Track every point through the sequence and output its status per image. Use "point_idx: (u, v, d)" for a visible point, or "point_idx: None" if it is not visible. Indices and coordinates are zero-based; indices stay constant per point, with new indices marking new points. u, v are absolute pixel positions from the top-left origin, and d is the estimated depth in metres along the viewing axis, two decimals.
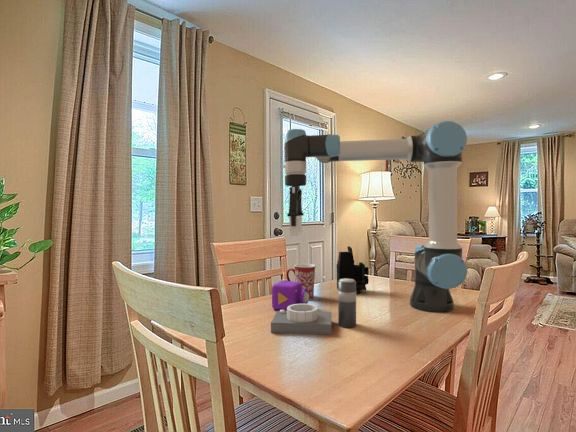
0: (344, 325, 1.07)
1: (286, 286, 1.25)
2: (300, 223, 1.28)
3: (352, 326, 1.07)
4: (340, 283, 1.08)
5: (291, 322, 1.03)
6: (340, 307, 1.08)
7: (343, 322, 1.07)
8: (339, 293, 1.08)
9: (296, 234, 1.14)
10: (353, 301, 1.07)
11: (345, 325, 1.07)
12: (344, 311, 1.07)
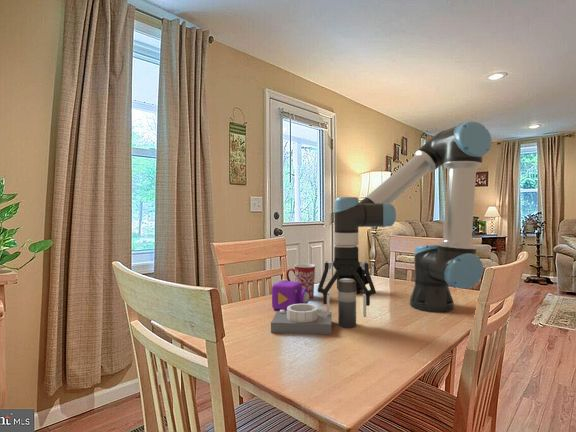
0: (344, 325, 1.07)
1: (286, 286, 1.25)
2: (363, 304, 1.08)
3: (352, 326, 1.07)
4: (340, 283, 1.08)
5: (291, 322, 1.03)
6: (340, 307, 1.08)
7: (343, 322, 1.07)
8: (339, 293, 1.08)
9: None
10: (353, 301, 1.07)
11: (345, 325, 1.07)
12: (344, 311, 1.07)
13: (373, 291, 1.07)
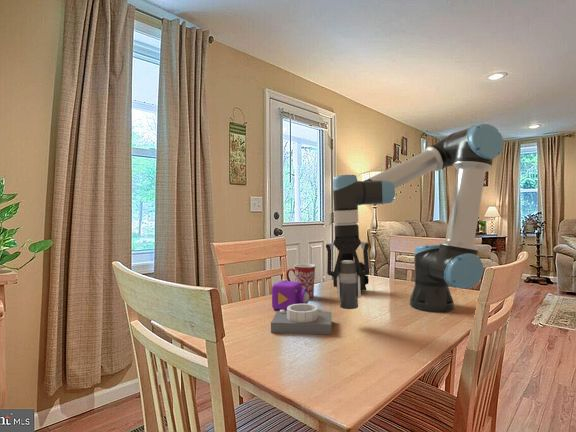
0: (346, 306, 1.07)
1: (286, 286, 1.25)
2: None
3: (354, 307, 1.07)
4: (341, 264, 1.07)
5: (291, 322, 1.03)
6: (341, 288, 1.08)
7: (344, 303, 1.07)
8: (340, 275, 1.08)
9: None
10: (354, 282, 1.07)
11: (347, 306, 1.07)
12: (345, 293, 1.07)
13: (367, 272, 1.07)
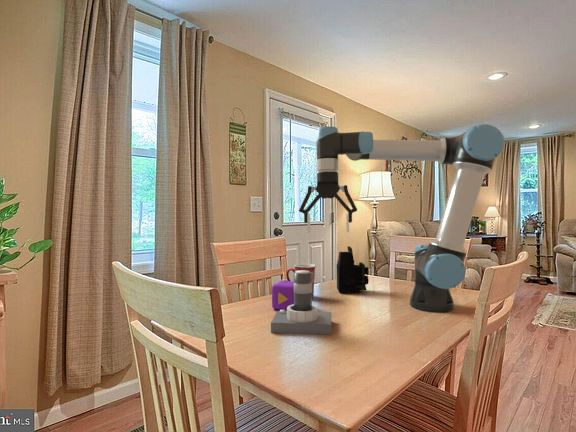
0: None
1: (286, 286, 1.25)
2: (346, 221, 1.20)
3: None
4: (295, 274, 1.06)
5: (291, 322, 1.03)
6: (295, 299, 1.07)
7: None
8: (294, 285, 1.07)
9: None
10: (308, 293, 1.06)
11: None
12: (298, 303, 1.06)
13: (355, 209, 1.19)
